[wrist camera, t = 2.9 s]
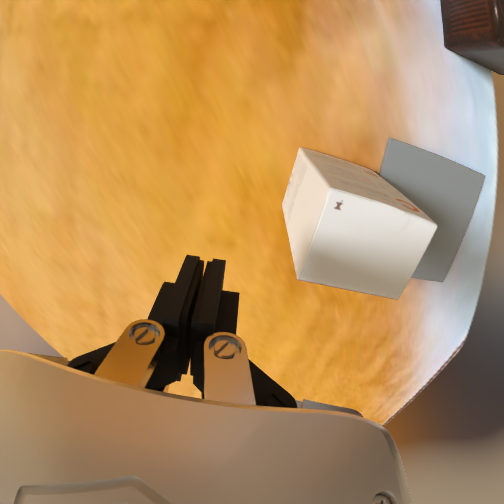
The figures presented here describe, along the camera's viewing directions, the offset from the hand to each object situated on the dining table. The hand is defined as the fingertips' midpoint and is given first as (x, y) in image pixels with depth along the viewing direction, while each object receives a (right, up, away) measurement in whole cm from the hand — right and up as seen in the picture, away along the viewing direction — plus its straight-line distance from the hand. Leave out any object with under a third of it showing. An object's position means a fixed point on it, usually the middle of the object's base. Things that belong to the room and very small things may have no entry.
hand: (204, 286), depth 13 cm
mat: (+21, +5, +17) cm, 28 cm away
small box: (+10, +8, +16) cm, 20 cm away
